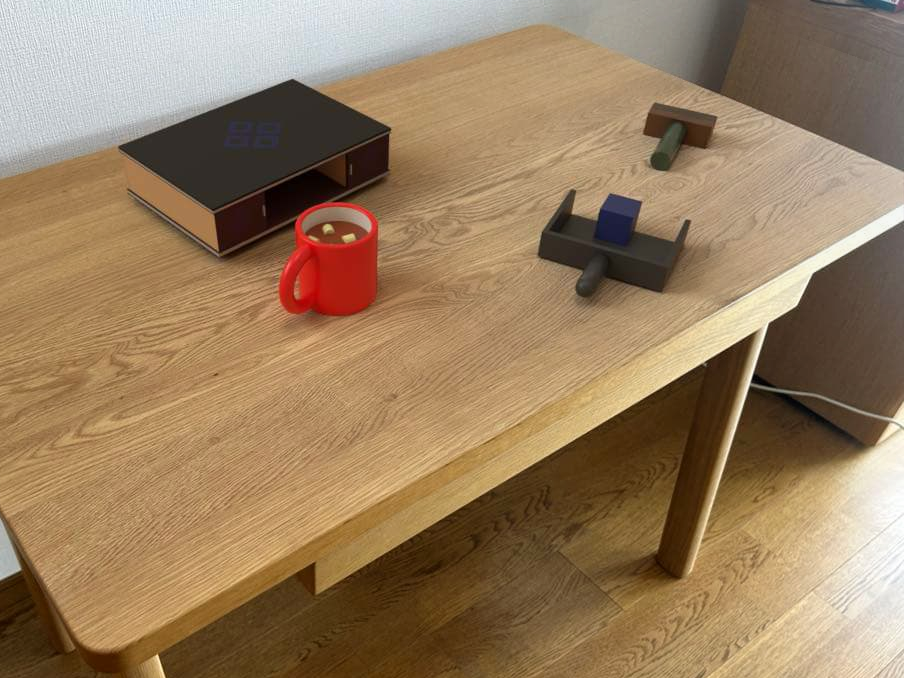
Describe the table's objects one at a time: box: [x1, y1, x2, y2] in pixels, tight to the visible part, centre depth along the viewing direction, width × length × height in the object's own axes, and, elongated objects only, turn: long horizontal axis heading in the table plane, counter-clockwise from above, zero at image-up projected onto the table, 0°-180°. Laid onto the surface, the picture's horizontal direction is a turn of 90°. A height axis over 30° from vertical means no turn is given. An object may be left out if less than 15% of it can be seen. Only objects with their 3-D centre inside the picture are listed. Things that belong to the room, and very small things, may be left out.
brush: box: [642, 102, 718, 171], centre depth 107 cm, size 8×3×11 cm
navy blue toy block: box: [594, 192, 643, 246], centre depth 94 cm, size 4×4×4 cm
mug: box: [278, 201, 379, 316], centre depth 84 cm, size 8×12×8 cm, turn 144°
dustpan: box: [537, 188, 692, 299], centre depth 90 cm, size 16×13×3 cm
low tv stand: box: [117, 78, 392, 259], centre depth 99 cm, size 17×25×7 cm
